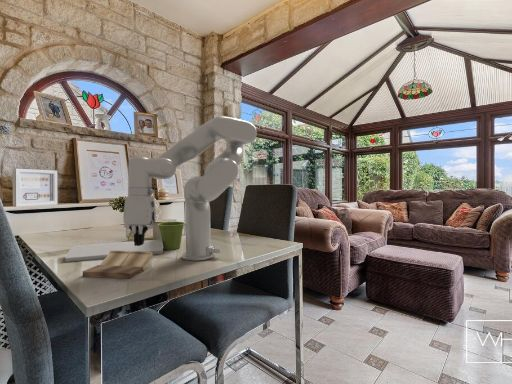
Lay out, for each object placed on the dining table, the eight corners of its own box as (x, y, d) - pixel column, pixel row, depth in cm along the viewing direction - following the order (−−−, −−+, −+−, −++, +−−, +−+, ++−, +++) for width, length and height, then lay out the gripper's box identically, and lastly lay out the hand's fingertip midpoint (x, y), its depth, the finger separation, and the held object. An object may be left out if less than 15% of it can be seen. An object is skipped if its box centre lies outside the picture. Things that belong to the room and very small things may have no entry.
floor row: (143, 270, 90) (143, 266, 90) (130, 278, 82) (130, 273, 82) (99, 269, 92) (99, 264, 91) (82, 276, 84) (82, 271, 84)
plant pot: (152, 248, 122) (152, 223, 122) (176, 244, 131) (175, 221, 131) (166, 252, 114) (166, 226, 114) (190, 247, 123) (190, 223, 123)
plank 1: (132, 254, 97) (130, 250, 96) (121, 269, 91) (119, 265, 90) (112, 254, 98) (110, 250, 97) (101, 268, 92) (99, 264, 91)
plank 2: (152, 255, 96) (151, 251, 95) (143, 270, 90) (142, 266, 89) (133, 254, 97) (131, 250, 96) (122, 269, 91) (121, 265, 90)
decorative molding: (162, 260, 114) (162, 249, 122) (162, 250, 112) (162, 239, 121) (66, 269, 101) (73, 256, 110) (65, 258, 100) (72, 245, 109)
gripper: (165, 193, 98) (164, 243, 98) (126, 192, 100) (125, 242, 100) (154, 193, 90) (153, 248, 90) (113, 192, 92) (112, 246, 92)
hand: (139, 244), depth 95 cm, fingers closed
